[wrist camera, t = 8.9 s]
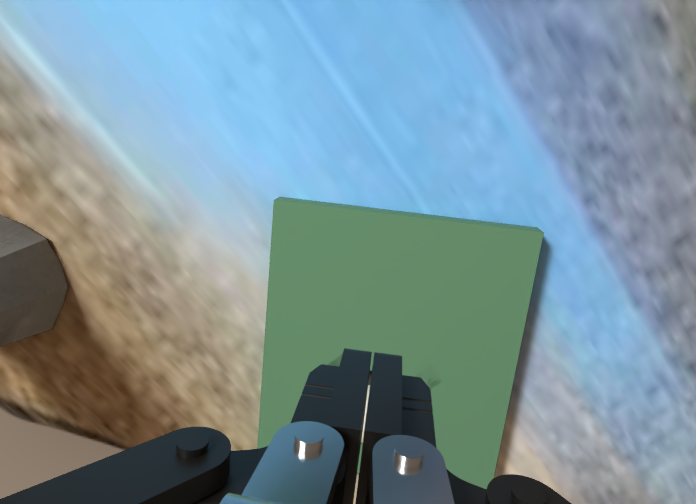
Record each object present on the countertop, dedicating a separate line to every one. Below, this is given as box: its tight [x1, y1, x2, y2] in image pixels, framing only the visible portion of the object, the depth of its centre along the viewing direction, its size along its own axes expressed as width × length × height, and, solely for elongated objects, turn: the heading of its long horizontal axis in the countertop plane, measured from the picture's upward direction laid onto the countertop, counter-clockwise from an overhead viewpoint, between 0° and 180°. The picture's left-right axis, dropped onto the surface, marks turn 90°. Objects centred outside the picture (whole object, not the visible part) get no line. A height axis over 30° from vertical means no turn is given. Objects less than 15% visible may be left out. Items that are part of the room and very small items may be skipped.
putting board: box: [257, 197, 544, 489], centre depth 33 cm, size 16×18×2 cm
